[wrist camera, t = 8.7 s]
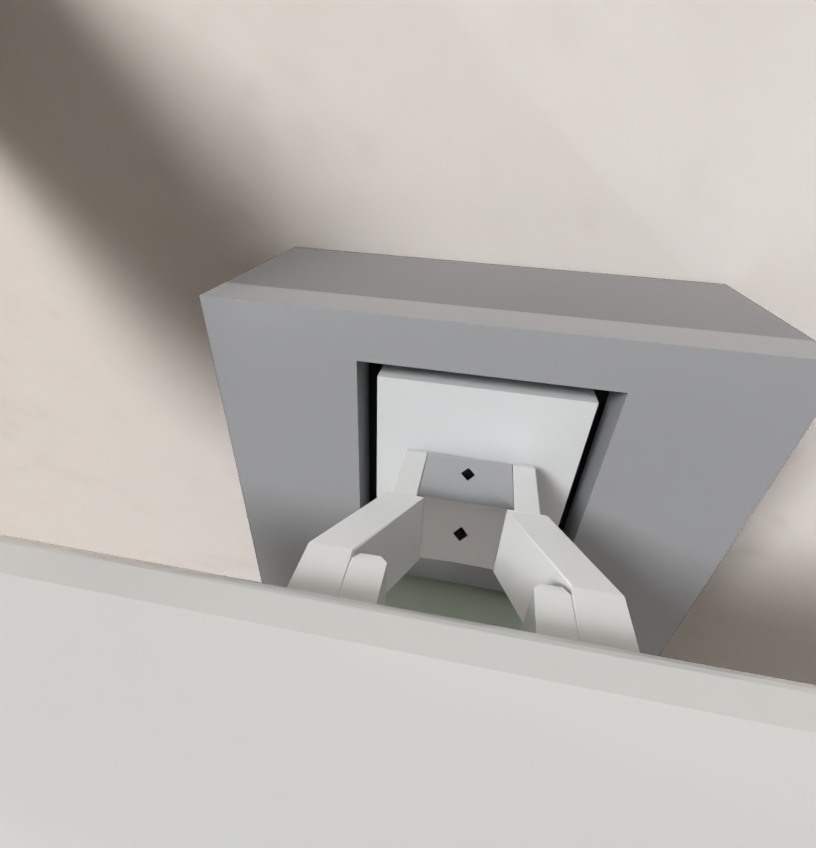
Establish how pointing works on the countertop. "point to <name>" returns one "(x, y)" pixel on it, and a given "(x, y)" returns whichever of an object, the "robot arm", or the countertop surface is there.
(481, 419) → the key grey
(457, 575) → the grey button panel
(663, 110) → the countertop surface
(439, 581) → the key sage
